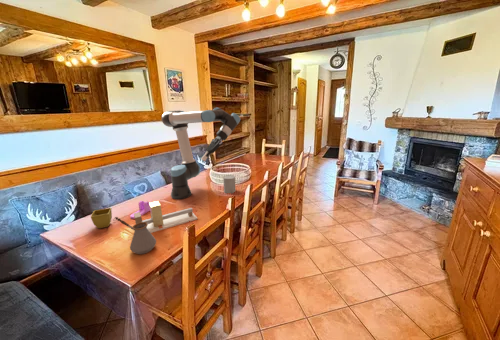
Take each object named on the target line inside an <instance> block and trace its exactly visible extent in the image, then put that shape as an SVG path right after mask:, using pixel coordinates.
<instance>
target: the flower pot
mask: <svg viewBox="0 0 500 340" xmlns="http://www.w3.org/2000/svg"><path fill="white" fill-rule="evenodd" d="M112 217H113V213H112V207H108V208H102V209H96V210H93V212H92V213H91V215H90V219H91V221H92V223H93V225H94V226H95V227H96V228H97V229H104V228H107V227H109V226H110V224H111V222H112Z"/></svg>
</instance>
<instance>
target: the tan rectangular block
mask: <svg viewBox="0 0 500 340" xmlns="http://www.w3.org/2000/svg"><path fill="white" fill-rule="evenodd" d="M149 207H150V211H149V212H150V218H152V219H153V225H154V227H157V226H160V225H164V224H163V217H162V215H163V212H162V205H161V203H160V201H159V200H156V201H152V202H149Z"/></svg>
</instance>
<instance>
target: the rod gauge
mask: <svg viewBox="0 0 500 340" xmlns="http://www.w3.org/2000/svg"><path fill="white" fill-rule="evenodd" d="M133 213H134V217H135V219H134V222H135V224H137V223H141V222H146V223H147V224H148V225H147V229H148V230H149V231H150V233H151V234H153V233H155V232H159V231H162V230H166V229H169V228H172V227H175V226H179V225H182V224H186V223H189V221H190V222H192V221H196V220H198V217H197V215H196V214H195V213H194V209H193V208H192V207H189V208H185V209H181V210H177V211H174V212H170V213H166V214H162V217H163V224H164V225H160V226H157V227H154V225H153V219H152V218H151V217H150V218H148V219H147V218H146V219H144V220H143V218H142V216H141V214H140V212H138V213H135V212H133Z"/></svg>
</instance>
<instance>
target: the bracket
mask: <svg viewBox="0 0 500 340" xmlns="http://www.w3.org/2000/svg"><path fill="white" fill-rule="evenodd" d="M149 203H150V202H149V201H147V200H146V201H144V200H139V202H138V208H139V209H138V210H137V211H135V212H133V213H132V214H130V216H129V217H130V219H132V220H135V217H134V213H138V212H140V214H141V217H142V216H143V215H145V214H147V213H148V212H150V207H149Z"/></svg>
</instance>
